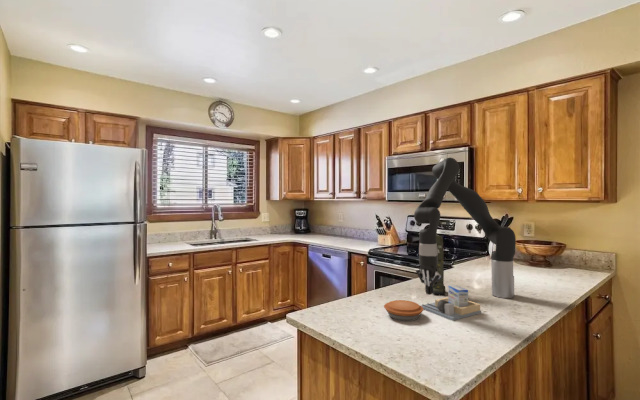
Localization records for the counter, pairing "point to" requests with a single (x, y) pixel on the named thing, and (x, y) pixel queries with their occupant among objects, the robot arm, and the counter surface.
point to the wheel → (442, 305)
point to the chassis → (453, 309)
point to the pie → (403, 310)
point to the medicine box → (457, 296)
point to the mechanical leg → (439, 268)
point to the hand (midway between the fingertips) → (429, 294)
